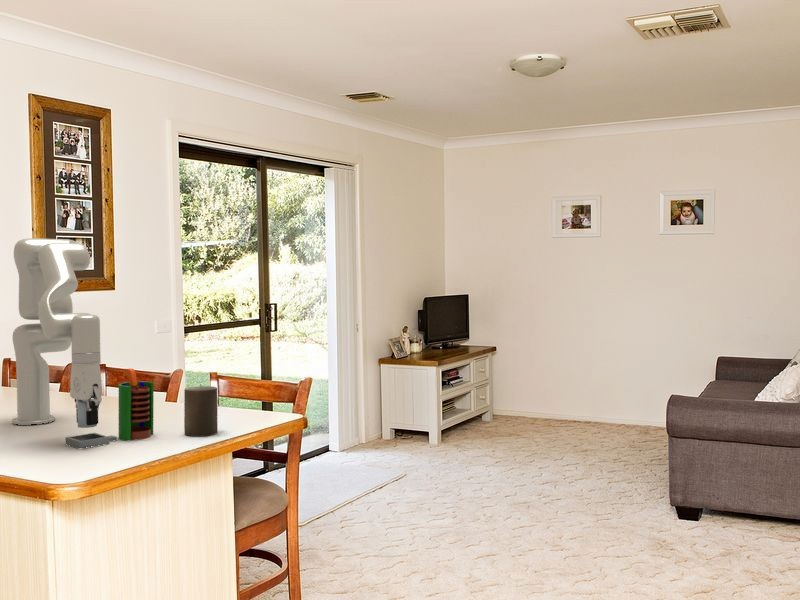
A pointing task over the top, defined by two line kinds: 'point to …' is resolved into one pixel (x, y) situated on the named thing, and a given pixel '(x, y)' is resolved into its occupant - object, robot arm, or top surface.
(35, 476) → the top surface
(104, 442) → the grey tray
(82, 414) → the pump
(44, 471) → the top surface
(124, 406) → the motor
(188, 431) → the pillar candle
